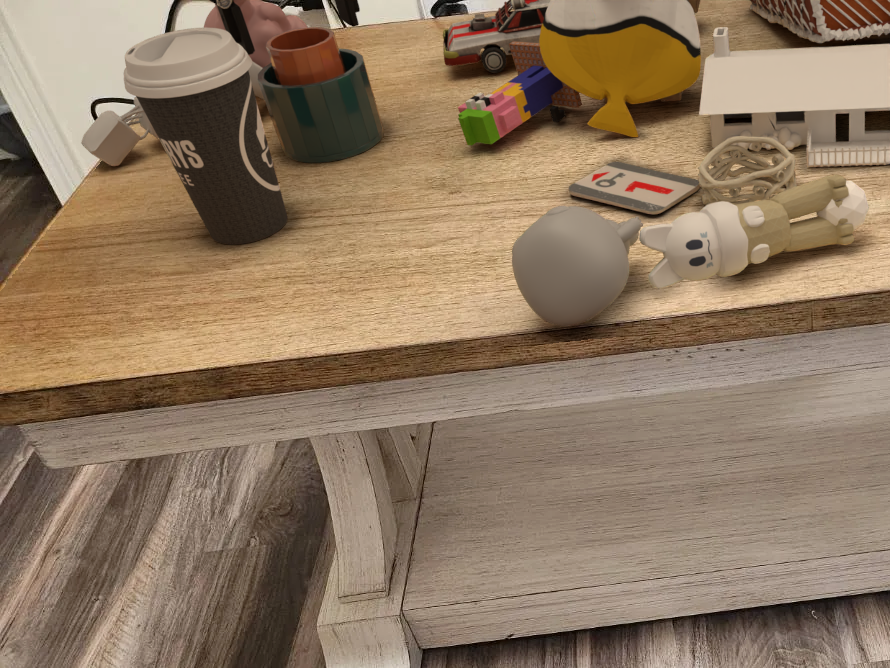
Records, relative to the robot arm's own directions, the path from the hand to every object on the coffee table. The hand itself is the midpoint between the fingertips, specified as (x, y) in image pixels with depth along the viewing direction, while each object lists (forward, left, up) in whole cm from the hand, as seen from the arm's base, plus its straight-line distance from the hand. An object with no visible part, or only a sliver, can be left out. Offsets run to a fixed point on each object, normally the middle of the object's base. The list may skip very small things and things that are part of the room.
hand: (299, 36), depth 101 cm
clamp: (-10, +12, -10) cm, 19 cm away
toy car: (+25, +6, -10) cm, 27 cm away
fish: (+19, -10, 0) cm, 22 cm away
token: (+18, -34, -9) cm, 40 cm away
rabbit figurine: (+27, -46, -8) cm, 54 cm away
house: (+38, -31, -10) cm, 50 cm away
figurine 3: (+10, -39, -8) cm, 41 cm away
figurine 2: (+20, -8, -7) cm, 23 cm away
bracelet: (+24, -33, -8) cm, 42 cm away
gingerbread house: (+59, -14, +7) cm, 61 cm away
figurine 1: (0, +19, -10) cm, 21 cm away
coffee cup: (-12, -12, -10) cm, 20 cm away
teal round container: (0, 0, -10) cm, 10 cm away
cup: (0, 0, -9) cm, 9 cm away
